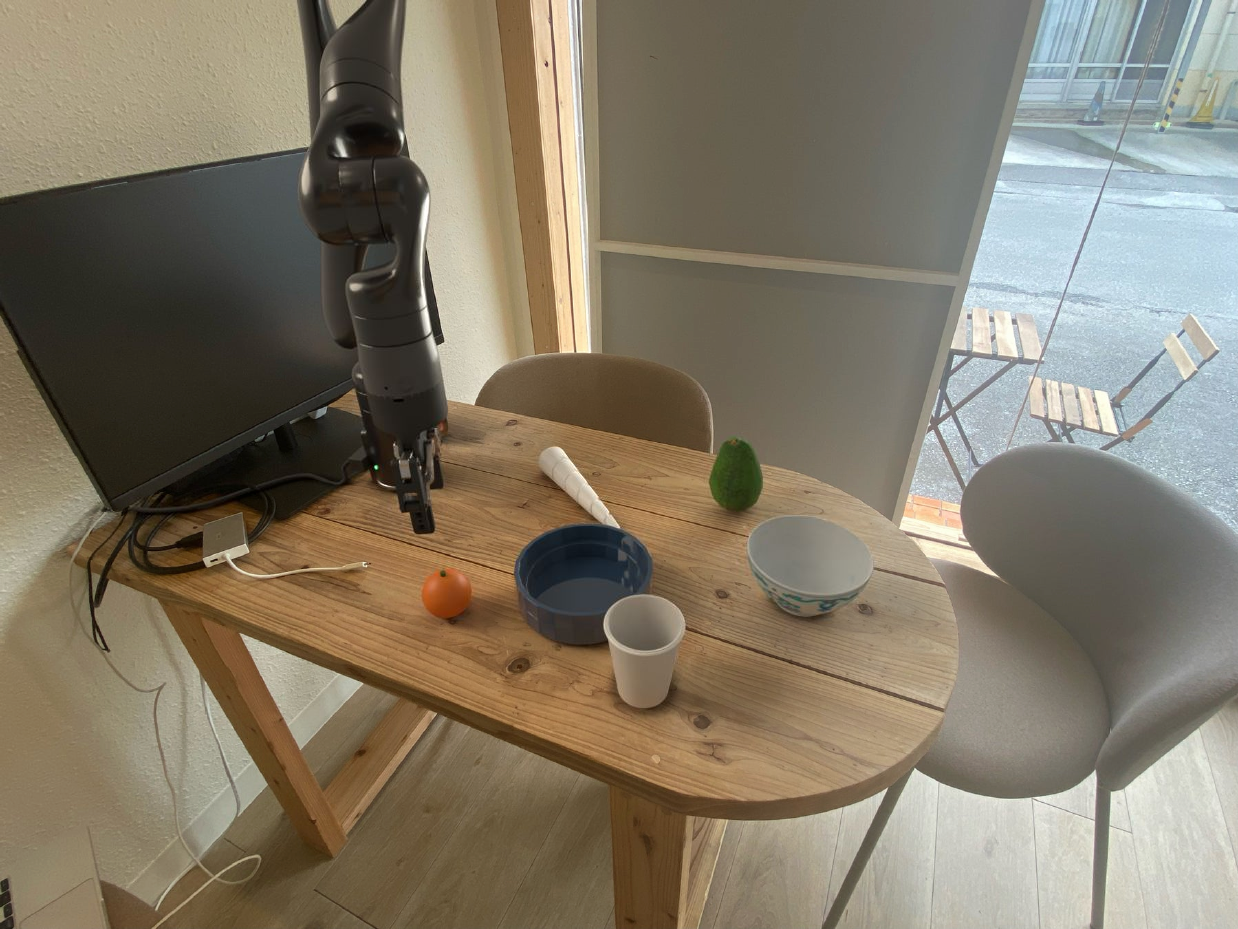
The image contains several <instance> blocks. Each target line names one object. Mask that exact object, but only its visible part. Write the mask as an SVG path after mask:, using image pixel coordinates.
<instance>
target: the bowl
mask: <svg viewBox="0 0 1238 929" xmlns="http://www.w3.org/2000/svg"><path fill="white" fill-rule="evenodd" d="M514 563H515V564H514V568H513V569H514V570H513V579H514V586H515V588H514V589H515V596H516V603H517V606H518V610H519V614H520V616H521V618H522V619H523V620H524V622H525V623H526V624H527V626H528V627H530V628H531V629H533V630H534V631H535V632H536V633H538V634H539V635H540V636H543V637H546V638H547V639H550V640H553V641H555V642H557V643H558V642H559V643H564V644H568V645H595V644H600V643H605V642H609V641H608V638H607V636H606V634H605V631H604V618H605V615H606V613H607V611H608V610H609V609H610V608H611V606H612V605H614V604H615V603H616V602H618V601H619V600H621V599H623V598H626V597H629V596H633V595H654V562H653V556H652V555H651V552H650V551H649V550H648V548H647V546H646V545H645V544H644V543H643V542H642V541H641V540H640V539H639V538H638V537H637V536H635V535H633V534H632V533H631V532H628V531H626V530H624V529H622V528H620V529H619V528H616V527H613V526H610V525H603V524H602V523H596V522H594V523H593V522H584V523H583V522H582V523H580V522H579V523H572V524H567V525H561V526H558V527H555V528H553V529H549V530H547V531H545V532H543V533H541V534H540V535H538V536H536V537H534V538H533V539H531V540H530V541H529V542H528V543H527V544H526V545H525V546H524V547H523V548H522V549H521V551H520V553H519V554H518V556H517V558H516V560H515V562H514Z"/></svg>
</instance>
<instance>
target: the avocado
mask: <svg viewBox="0 0 1238 929" xmlns="http://www.w3.org/2000/svg"><path fill="white" fill-rule="evenodd" d="M708 485H709V488H710V493H711V496H712V498H713V500H714V501H715V502H716V503H717V504H718V505H719V506H721V507H722V508H724V509H725V510H727V511H733V512H744V511H747V510H749V509H751V508H752V507H753V506H754V505H755V504H757V503H758V500H759V498H760V495H761V494H762V490H763V489H764V474H763V471H762V467H761V464H760V461H759V458H758V456H757V453H756V451H755V448H754V446H753V445H752V443H751V442H749V441H748V440H746V439H745V438H744V437H739V436H733V437H730V438H727V440H725V441H724V442H722V444H721V446H720V448H719V451H718V452H717V455H716V458H715V460H714V463H713V465H712V467H711V473H710V474H709V480H708Z"/></svg>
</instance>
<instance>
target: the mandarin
mask: <svg viewBox="0 0 1238 929" xmlns="http://www.w3.org/2000/svg"><path fill="white" fill-rule="evenodd" d="M472 594H473V588H472V584H471V582H470V580H469V578H468V577H467V576H466V575H465V573H463V572H461V571H460V570H457V569H454V568H442V569H439V570H437V571H434V572H433V573H432V574H430V575H429V576H428V577H427V578H426V580H425V581H424V583H423V586H422V589H421V601H422V604H423V606H424V608H425V609H426V610H427V611H428V612H429V613H430V614H431V615H433V616H434V617H437V618H440V619H450V618H451V619H452V618H454V617H457V616H459V615H461V613H463V612H464V611H465V610H466V609H467V607H468V606H469V604H470V603H471V599H472Z"/></svg>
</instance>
